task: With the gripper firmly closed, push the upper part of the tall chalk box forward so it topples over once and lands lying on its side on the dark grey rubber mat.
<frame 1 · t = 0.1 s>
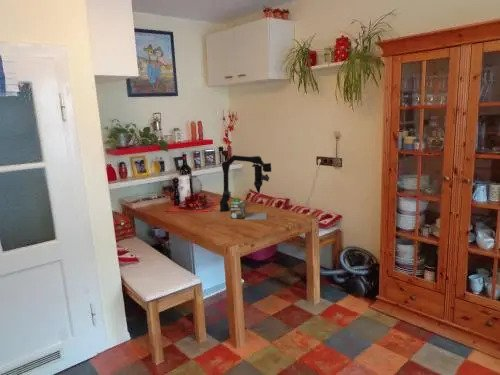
hand: (259, 191, 291), 15 cm above the table, tool pointing down, fingers open, 9 cm apart
chalk box: (238, 217, 275), on the table, touching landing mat
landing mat: (255, 216, 274), on the table
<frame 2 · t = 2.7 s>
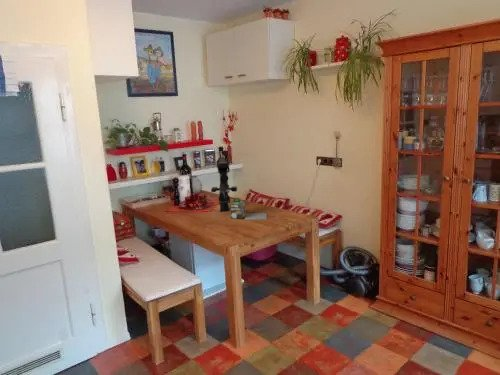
hand: (224, 200, 273), 13 cm above the table, tool pointing down, fingers closed
nothing on the table moved.
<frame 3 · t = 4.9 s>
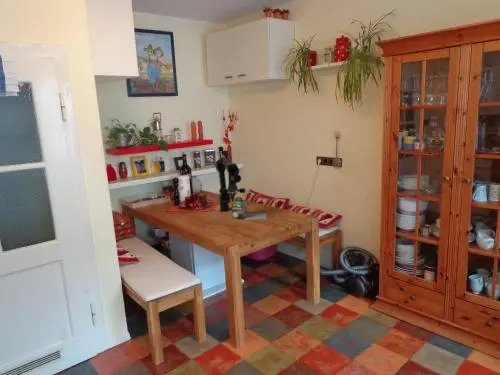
hand: (232, 201, 272), 12 cm above the table, tool pointing down, fingers closed, pressing on chalk box
chalk box: (239, 216, 274), point 1 cm above the table, touching gripper, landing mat
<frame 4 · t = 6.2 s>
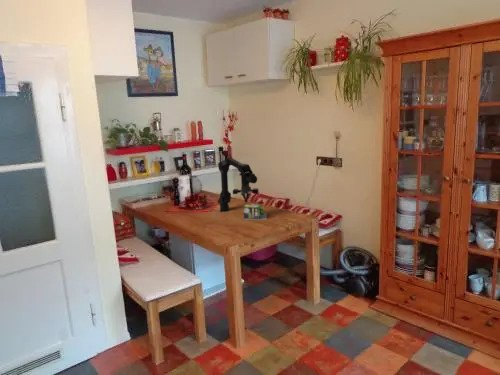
hand: (246, 202, 272), 11 cm above the table, tool pointing down, fingers closed
chalk box: (244, 210, 272), point 5 cm above the table, touching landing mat
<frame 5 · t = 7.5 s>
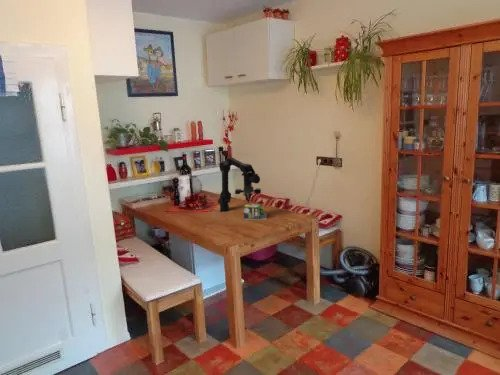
hand: (248, 202, 272), 11 cm above the table, tool pointing down, fingers closed
nothing on the table moved.
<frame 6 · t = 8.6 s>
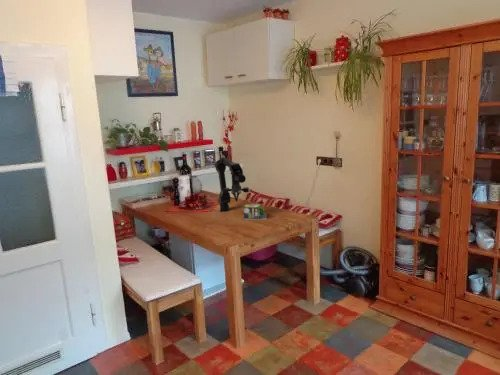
hand: (236, 201, 274), 12 cm above the table, tool pointing down, fingers closed
nothing on the table moved.
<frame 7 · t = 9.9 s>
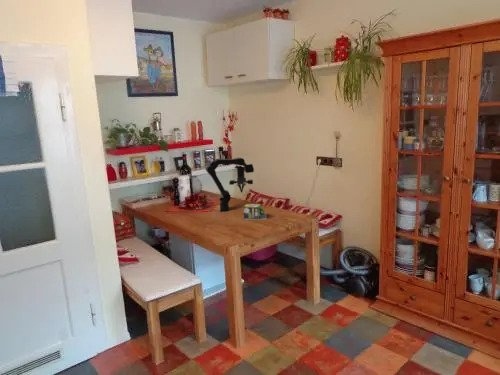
hand: (241, 192, 298), 13 cm above the table, tool pointing down, fingers closed
nothing on the table moved.
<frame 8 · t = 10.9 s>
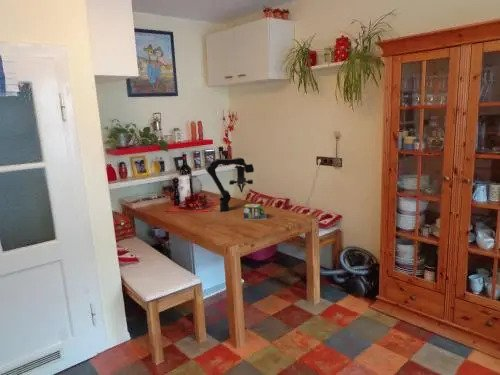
hand: (241, 192, 298), 13 cm above the table, tool pointing down, fingers closed
nothing on the table moved.
at the end: chalk box tilted 91°; chalk box touching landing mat; chalk box inside the target area (7.1 cm from its centre), point 5.0 cm above the table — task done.
